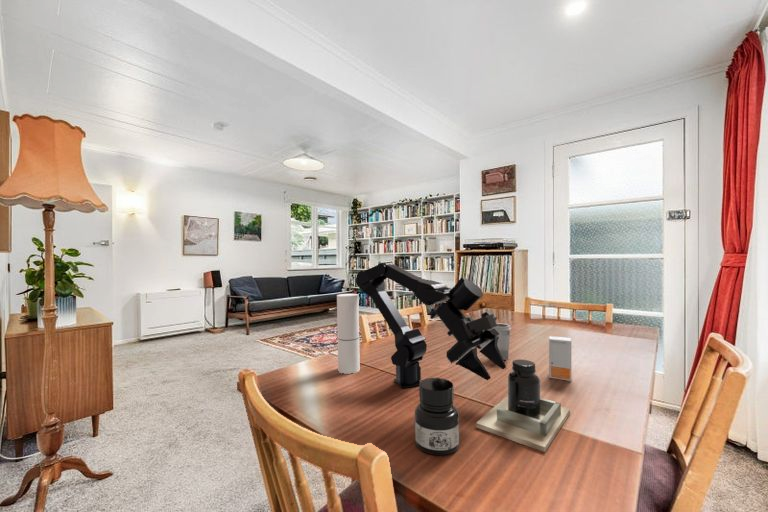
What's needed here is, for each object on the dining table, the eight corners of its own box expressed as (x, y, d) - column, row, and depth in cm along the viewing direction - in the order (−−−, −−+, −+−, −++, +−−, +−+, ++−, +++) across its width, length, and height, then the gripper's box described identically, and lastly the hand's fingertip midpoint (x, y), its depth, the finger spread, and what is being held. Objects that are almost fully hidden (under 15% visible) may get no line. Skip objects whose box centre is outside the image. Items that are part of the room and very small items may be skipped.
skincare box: (549, 378, 98) (548, 338, 98) (549, 373, 102) (548, 335, 102) (572, 381, 96) (571, 341, 95) (571, 376, 99) (571, 337, 99)
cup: (487, 356, 120) (486, 324, 120) (501, 354, 123) (500, 322, 123) (501, 362, 114) (501, 327, 113) (515, 359, 116) (515, 325, 116)
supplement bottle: (525, 425, 70) (524, 369, 70) (501, 411, 76) (500, 360, 76) (547, 418, 73) (546, 364, 73) (523, 405, 79) (522, 356, 79)
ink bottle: (411, 454, 62) (410, 391, 62) (414, 430, 71) (413, 374, 71) (463, 459, 61) (462, 394, 61) (460, 433, 69) (459, 376, 69)
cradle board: (476, 427, 71) (475, 411, 71) (510, 396, 86) (510, 383, 86) (544, 452, 62) (544, 434, 62) (570, 413, 77) (569, 398, 77)
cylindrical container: (361, 366, 112) (360, 293, 112) (357, 374, 105) (356, 296, 104) (340, 366, 112) (339, 293, 112) (335, 373, 105) (334, 296, 105)
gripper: (457, 306, 75) (505, 365, 68) (491, 297, 89) (534, 345, 81) (429, 335, 80) (470, 392, 73) (465, 322, 94) (503, 369, 87)
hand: (497, 373), depth 78 cm, fingers open, 9 cm apart
